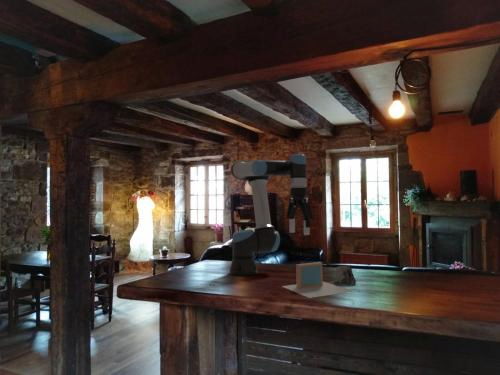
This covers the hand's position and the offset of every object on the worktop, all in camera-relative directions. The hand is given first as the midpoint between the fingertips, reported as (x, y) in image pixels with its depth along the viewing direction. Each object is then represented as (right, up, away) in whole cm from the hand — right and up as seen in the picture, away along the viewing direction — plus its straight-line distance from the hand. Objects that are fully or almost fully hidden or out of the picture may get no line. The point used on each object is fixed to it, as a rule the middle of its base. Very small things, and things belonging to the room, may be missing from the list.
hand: (299, 233), depth 171 cm
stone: (+21, -24, -1) cm, 32 cm away
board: (+6, -23, -13) cm, 27 cm away
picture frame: (+4, -22, -8) cm, 24 cm away
